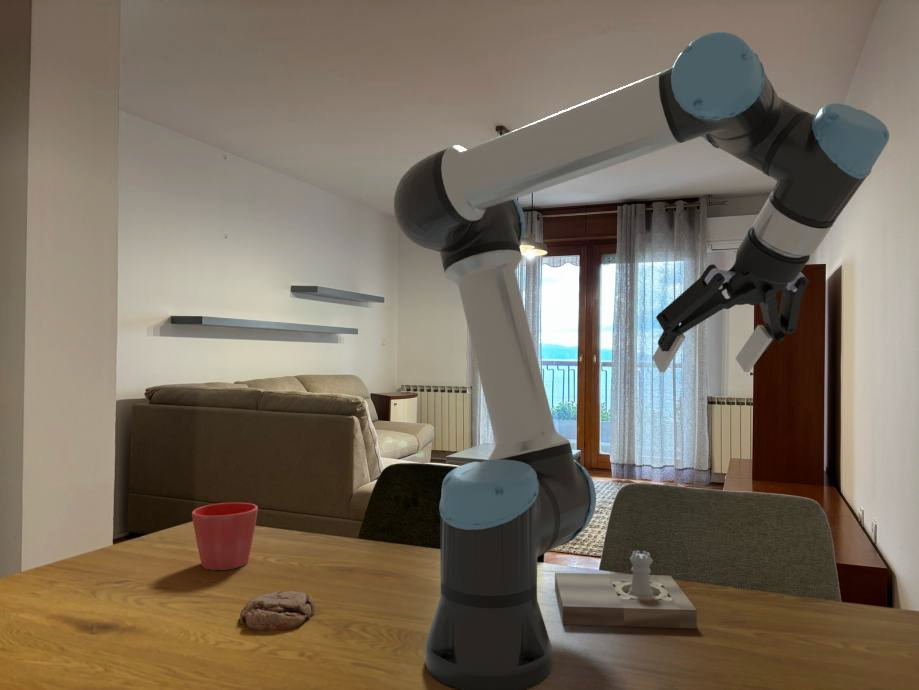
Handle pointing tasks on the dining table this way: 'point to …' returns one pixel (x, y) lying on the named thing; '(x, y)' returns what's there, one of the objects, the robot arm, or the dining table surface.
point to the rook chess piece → (641, 575)
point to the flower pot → (224, 534)
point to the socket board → (622, 602)
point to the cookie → (277, 610)
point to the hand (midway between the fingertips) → (700, 365)
